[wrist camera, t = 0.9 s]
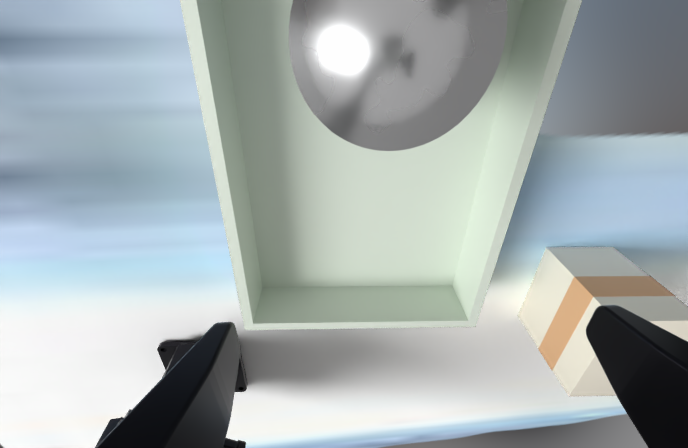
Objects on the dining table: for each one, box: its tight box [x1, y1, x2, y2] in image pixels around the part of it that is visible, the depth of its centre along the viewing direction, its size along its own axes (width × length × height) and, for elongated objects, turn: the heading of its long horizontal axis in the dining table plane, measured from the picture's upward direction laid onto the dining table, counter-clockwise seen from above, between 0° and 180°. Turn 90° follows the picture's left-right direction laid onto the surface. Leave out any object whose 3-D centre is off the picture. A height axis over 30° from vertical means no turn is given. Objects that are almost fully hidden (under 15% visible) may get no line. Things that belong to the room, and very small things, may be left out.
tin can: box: [289, 0, 508, 151], centre depth 13 cm, size 7×7×7 cm
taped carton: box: [518, 247, 688, 397], centre depth 23 cm, size 7×5×7 cm
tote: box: [180, 0, 582, 330], centre depth 18 cm, size 21×15×4 cm
